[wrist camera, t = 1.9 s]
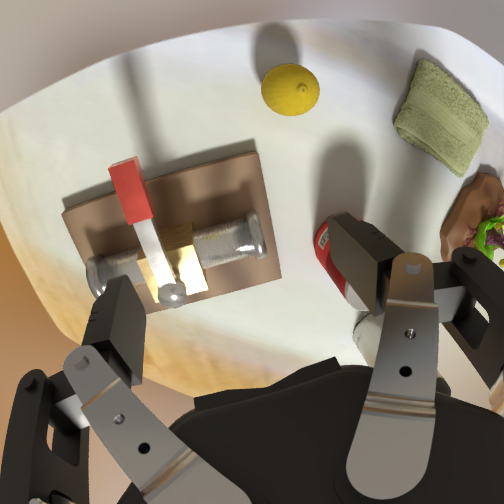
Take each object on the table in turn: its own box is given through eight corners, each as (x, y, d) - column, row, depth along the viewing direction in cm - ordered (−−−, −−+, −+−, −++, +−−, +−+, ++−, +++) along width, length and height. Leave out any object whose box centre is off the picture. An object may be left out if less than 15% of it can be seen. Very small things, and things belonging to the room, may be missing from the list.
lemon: (246, 76, 30) (263, 72, 23) (291, 60, 29) (319, 53, 23) (265, 120, 32) (286, 128, 26) (309, 103, 32) (340, 108, 25)
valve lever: (190, 295, 30) (191, 305, 29) (164, 302, 30) (163, 312, 29) (140, 154, 23) (137, 158, 21) (109, 165, 22) (104, 169, 21)
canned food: (315, 270, 44) (347, 320, 34) (309, 220, 40) (346, 264, 30) (361, 255, 44) (401, 299, 35) (360, 207, 40) (406, 244, 31)
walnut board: (255, 150, 34) (258, 153, 33) (278, 272, 43) (281, 278, 41) (65, 209, 32) (61, 214, 31) (117, 314, 41) (116, 321, 40)
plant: (423, 239, 46) (465, 275, 36) (482, 155, 40) (530, 176, 31) (460, 284, 54) (492, 315, 45) (509, 215, 49) (544, 239, 39)
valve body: (250, 202, 36) (267, 234, 29) (259, 243, 39) (277, 282, 32) (93, 248, 35) (73, 288, 27) (110, 284, 38) (97, 328, 30)
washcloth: (456, 178, 42) (469, 185, 39) (385, 130, 36) (399, 134, 33) (482, 113, 36) (495, 116, 34) (416, 51, 30) (431, 51, 28)
